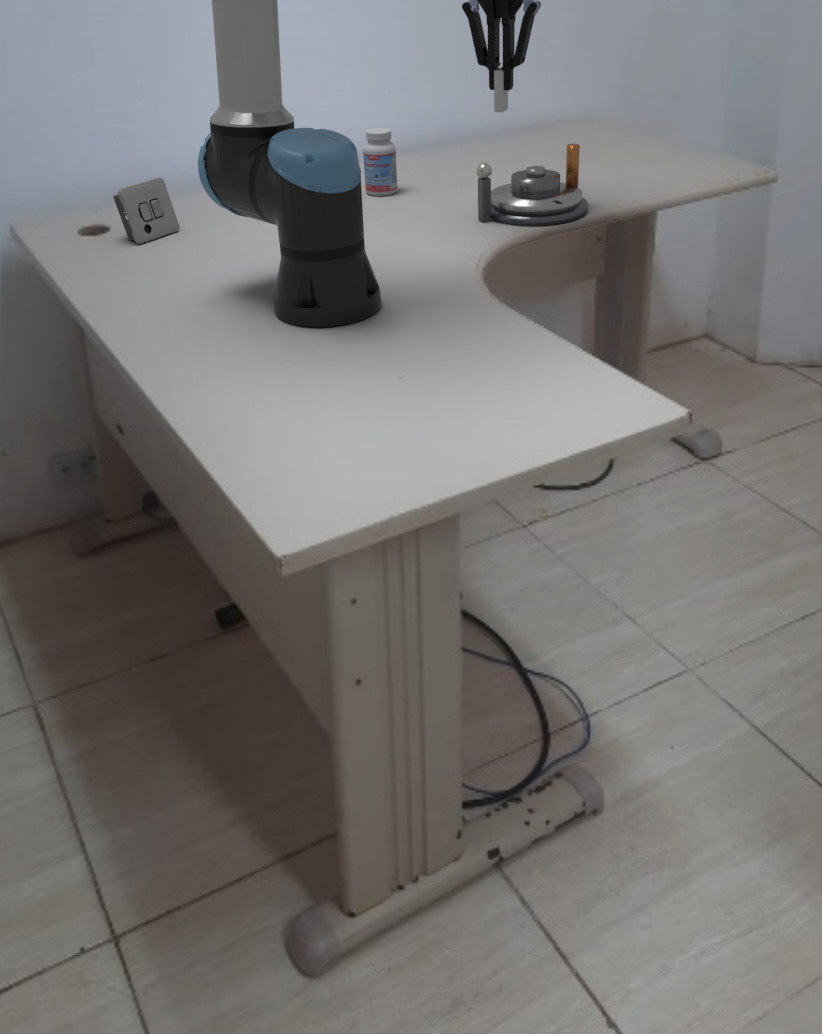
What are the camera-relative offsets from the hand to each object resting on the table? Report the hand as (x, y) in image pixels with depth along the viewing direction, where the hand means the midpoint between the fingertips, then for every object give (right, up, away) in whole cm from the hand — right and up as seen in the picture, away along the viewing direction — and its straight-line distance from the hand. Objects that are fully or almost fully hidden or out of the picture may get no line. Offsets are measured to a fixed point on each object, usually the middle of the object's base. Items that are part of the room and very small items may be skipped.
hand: (501, 110), depth 179 cm
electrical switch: (-60, -20, +4) cm, 64 cm away
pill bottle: (-21, -8, +21) cm, 31 cm away
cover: (+6, -12, +5) cm, 15 cm away
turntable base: (+7, -15, +6) cm, 18 cm away
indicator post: (-3, -18, +3) cm, 18 cm away
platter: (+7, -14, +6) cm, 16 cm away
